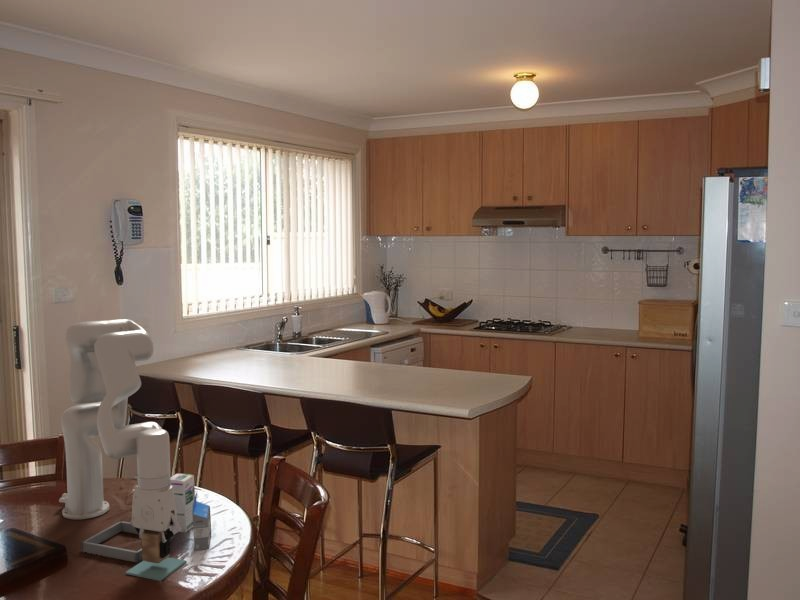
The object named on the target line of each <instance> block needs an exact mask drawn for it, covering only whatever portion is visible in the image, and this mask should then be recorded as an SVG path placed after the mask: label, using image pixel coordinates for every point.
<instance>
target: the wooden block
mask: <svg viewBox="0 0 800 600" xmlns="http://www.w3.org/2000/svg"><path fill="white" fill-rule="evenodd" d="M165 533H166V531H165ZM166 534H167V533H166ZM161 541H162V540H161V536H160V532H157V531H151V530H145V531H144V532H142V539H141V548H142V558H143V559H142V561H147V562H152V563H157V564H158V563H160V562H161V561H163V560H164V559H166V558H167V557H170V556H171V553H170V554H169V555H167V556H166V557H164V558H160V542H161Z"/></svg>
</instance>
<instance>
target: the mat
mask: <svg viewBox="0 0 800 600" xmlns="http://www.w3.org/2000/svg"><path fill="white" fill-rule="evenodd" d="M186 564H187V560H186V559H181V558H180V559H179V558H175V557H170V556H169V557H167V558H166V559H164V560H163V561H161V562H160V563H158V564H157V563H152V562H147V561H143V560H141V561H139V562H138V563H137V564H136V565H134V566H133V567H131V568H129V569H128V570H127V571H125V575H130V576H135V577H138V578H139V577H140V578H144V579H148V580H149V579H150V580H154V581H159V582H161V581H162V580H163V579H165V578H167V577H168V576H170V575H171V574H172V573H174V572H176V571H177V570H178V569H180V568H182V566H183V565H186Z"/></svg>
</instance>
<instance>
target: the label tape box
mask: <svg viewBox="0 0 800 600" xmlns="http://www.w3.org/2000/svg"><path fill="white" fill-rule="evenodd" d="M197 496H198V492H195V498H194V501H193V506H192V516H193V527H192V529H193V530H192V531H193V532H192V533H193V534H192V535H193V548H194V549H193V550H194V551H201V550H202V551H203V550H209V549H210V547H211V546H210V545H211V538H212V522H211V521H212V518H211V506H210V505H209V504H205V503H203V502H199V501H197V498H198V497H197ZM194 502H195V503H194Z"/></svg>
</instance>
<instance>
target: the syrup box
mask: <svg viewBox="0 0 800 600" xmlns="http://www.w3.org/2000/svg"><path fill="white" fill-rule="evenodd" d="M170 478H171V486H173V490H174V495H175V501H176V510H177V521H178V522H179V524H180V526H181V527H182V529H181V530H180V531H179V532H178V533H184V534H185V533H188V531H189V530H191V529H193V516H192V506H193V501H194V498H195V495H196V490H195V475H194V474H190V473H175V474H174V475H173V476H170ZM194 503H195V502H194ZM172 529H173V527H172V526H171V530H172Z"/></svg>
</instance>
